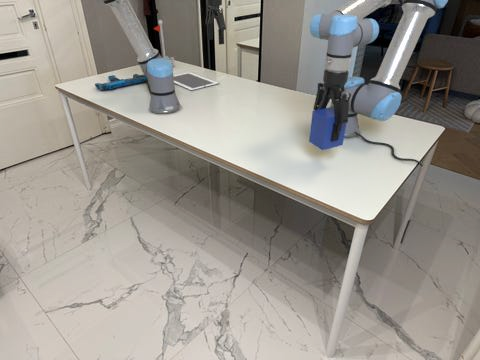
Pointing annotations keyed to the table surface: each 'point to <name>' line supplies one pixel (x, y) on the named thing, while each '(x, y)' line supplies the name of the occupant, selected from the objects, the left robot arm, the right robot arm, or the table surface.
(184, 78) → the tablet
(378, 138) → the table surface
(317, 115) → the block
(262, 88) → the table surface
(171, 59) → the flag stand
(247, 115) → the table surface
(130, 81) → the submachine gun
